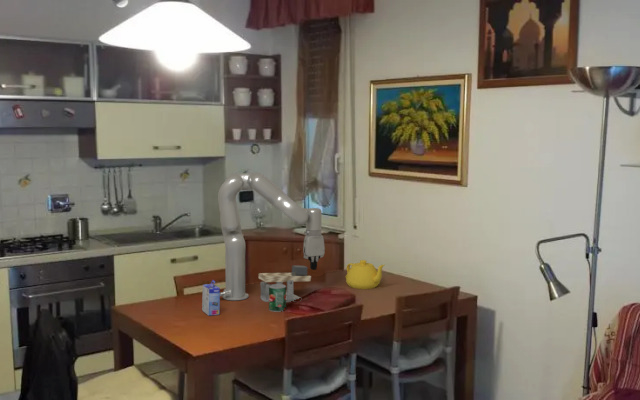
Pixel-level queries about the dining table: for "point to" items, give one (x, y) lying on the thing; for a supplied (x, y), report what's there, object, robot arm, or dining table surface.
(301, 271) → the block
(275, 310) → the canned tomato
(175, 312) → the dining table surface
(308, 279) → the balance beam
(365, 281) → the teapot
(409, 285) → the dining table surface
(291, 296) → the beam stand
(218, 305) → the ink cartridge box
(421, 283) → the dining table surface
